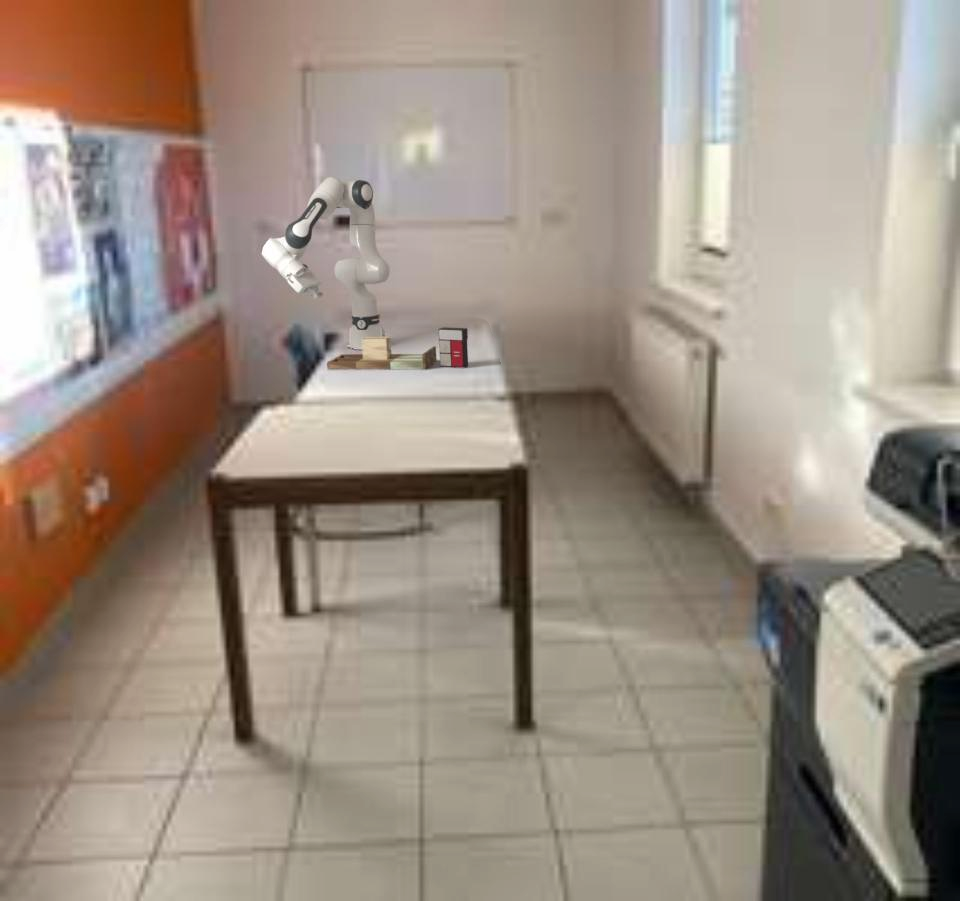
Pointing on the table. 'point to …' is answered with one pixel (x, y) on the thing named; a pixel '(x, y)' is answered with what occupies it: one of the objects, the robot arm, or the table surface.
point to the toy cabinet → (453, 347)
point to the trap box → (384, 361)
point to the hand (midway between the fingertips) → (319, 296)
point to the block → (376, 348)
